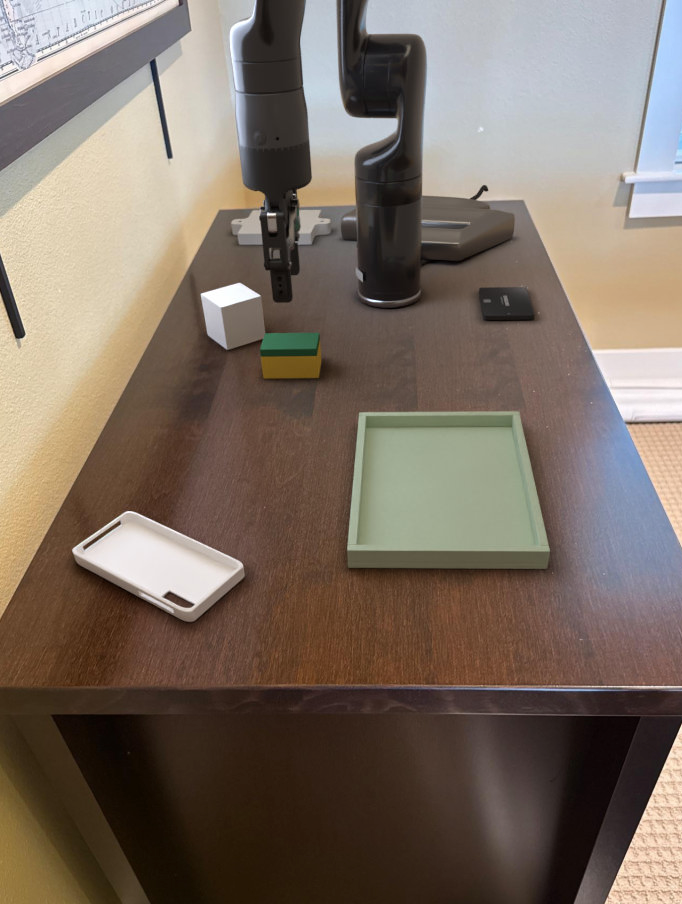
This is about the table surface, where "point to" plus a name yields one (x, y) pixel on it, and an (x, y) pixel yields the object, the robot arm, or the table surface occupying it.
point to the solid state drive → (506, 303)
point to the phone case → (160, 565)
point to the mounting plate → (309, 229)
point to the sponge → (291, 355)
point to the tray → (444, 493)
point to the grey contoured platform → (452, 227)
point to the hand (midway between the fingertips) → (287, 287)
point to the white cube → (233, 315)
